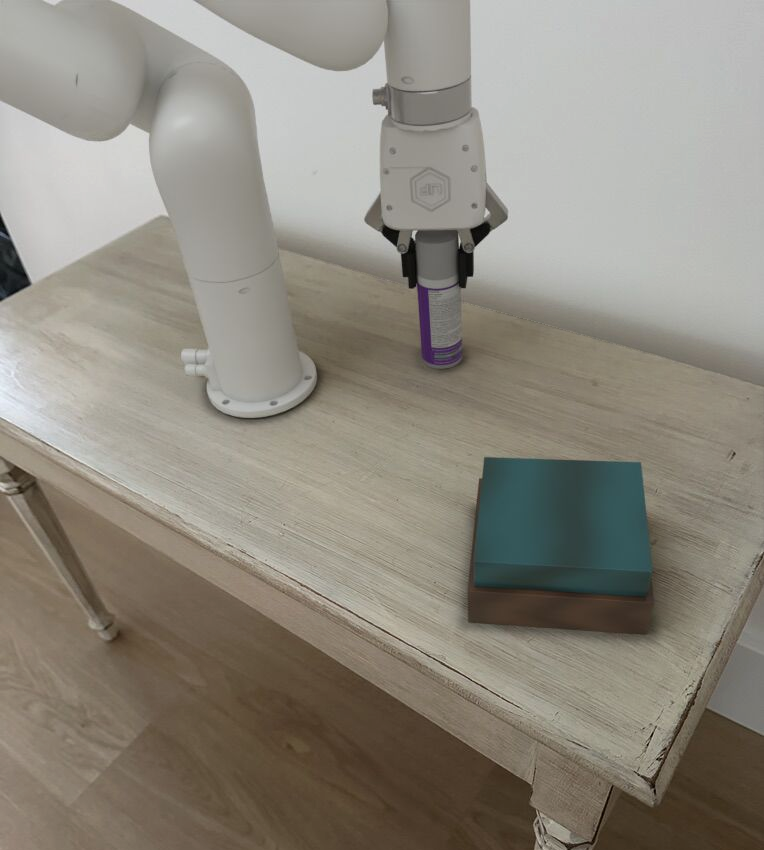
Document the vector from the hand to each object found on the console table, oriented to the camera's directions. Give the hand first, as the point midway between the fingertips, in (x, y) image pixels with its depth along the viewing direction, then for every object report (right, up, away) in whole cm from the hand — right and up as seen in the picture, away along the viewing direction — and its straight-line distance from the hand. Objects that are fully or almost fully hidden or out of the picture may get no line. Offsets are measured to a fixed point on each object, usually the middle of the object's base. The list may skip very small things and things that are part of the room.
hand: (438, 280), depth 85 cm
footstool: (+9, -29, -17) cm, 35 cm away
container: (+1, -7, +7) cm, 10 cm away
